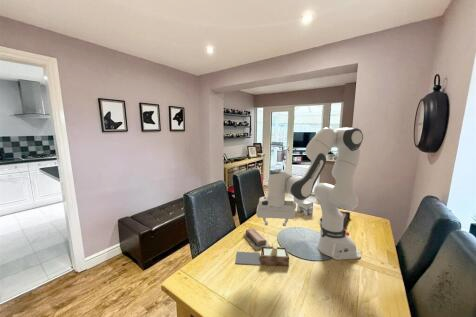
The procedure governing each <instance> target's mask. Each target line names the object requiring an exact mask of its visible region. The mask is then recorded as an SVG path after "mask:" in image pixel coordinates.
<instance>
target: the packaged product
mask: <svg viewBox="0 0 476 317" xmlns="http://www.w3.org/2000/svg"><path fill="white" fill-rule="evenodd" d="M242 236H243V237H244V238H245V239H246V240H247V242H248V243H249V244H250V245H251V247H252V248H253V249H254V250H255V251H259V250H261V246H271V245H270V243H268V242H267V240H266V238H265V237H264V236H262V234H260V232H258V231H257V229H256V228H252V227H251V228H248V229H245V233H243V235H242Z"/></svg>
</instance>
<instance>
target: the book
mask: <svg viewBox="0 0 476 317" xmlns="http://www.w3.org/2000/svg"><path fill="white" fill-rule="evenodd" d="M340 212H341V213H342V214H343V217H344V221H343V228H344V229H345V230H346V226H347V223H348V221H349V220H350V217H351V212H350V211H343V210H340ZM319 225H320V226H321V225H322V216H321V217H320V218H319Z"/></svg>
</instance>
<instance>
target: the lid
mask: <svg viewBox="0 0 476 317" xmlns="http://www.w3.org/2000/svg"><path fill="white" fill-rule="evenodd" d="M277 247H278V246H277V243H276V242H272V249H267V248H264V255H270V256H286V253H285V249H277Z"/></svg>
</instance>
